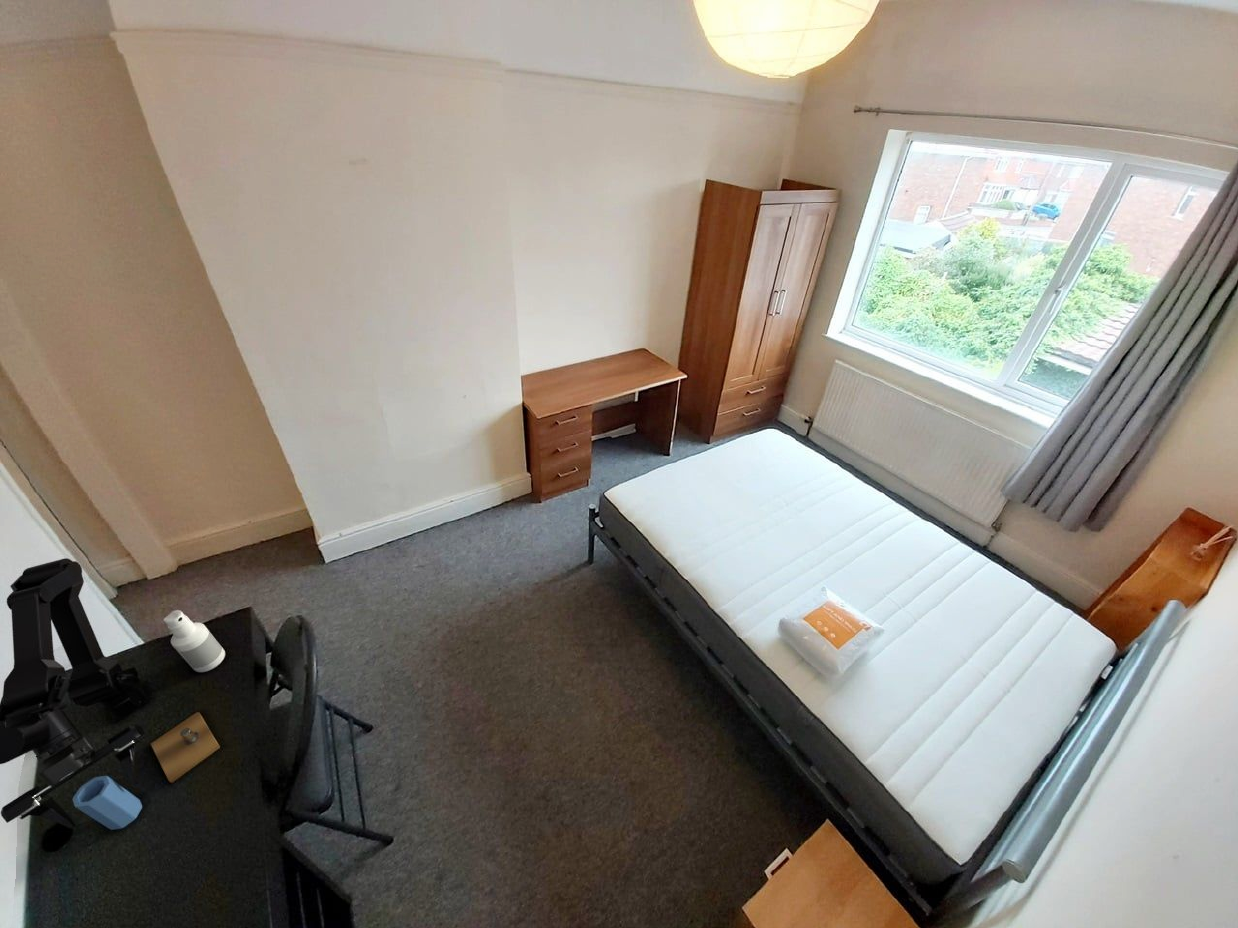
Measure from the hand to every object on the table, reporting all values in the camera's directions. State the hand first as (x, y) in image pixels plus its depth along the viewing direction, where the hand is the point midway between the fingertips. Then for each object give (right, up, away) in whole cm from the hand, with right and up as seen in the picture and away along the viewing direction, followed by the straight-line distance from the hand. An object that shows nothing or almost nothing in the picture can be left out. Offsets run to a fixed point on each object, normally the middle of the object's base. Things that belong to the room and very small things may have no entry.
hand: (106, 804), depth 94 cm
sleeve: (-1, -5, +5) cm, 7 cm away
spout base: (+2, +2, +15) cm, 15 cm away
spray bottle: (-7, +14, +32) cm, 36 cm away
